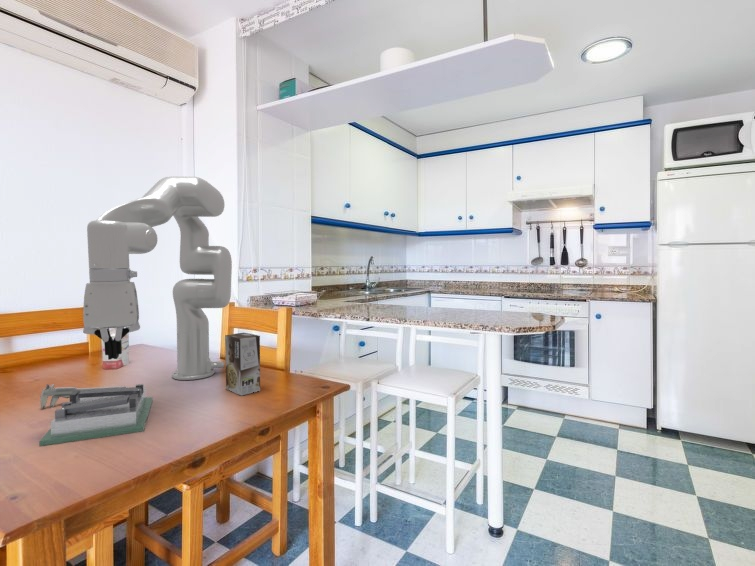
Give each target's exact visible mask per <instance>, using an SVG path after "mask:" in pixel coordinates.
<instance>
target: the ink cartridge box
mask: <svg viewBox="0 0 755 566" xmlns="http://www.w3.org/2000/svg"><path fill="white" fill-rule="evenodd" d="M109 330H110V335H111V337H112V339H113V340H114V338H115V334H116V328H111V329H109ZM121 344H122V354H119V357H118V358H117V359H110V360H108V355H105V342H103V341H102V369H103V370H117V369H120V368H121V367H122V368H123V367H124V366H126V365H129V364H130V332H129V333H127V334H126V335H125V336H124V337H123V338H122V339H121Z"/></svg>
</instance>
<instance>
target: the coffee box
mask: <svg viewBox="0 0 755 566" xmlns="http://www.w3.org/2000/svg"><path fill="white" fill-rule="evenodd" d="M260 339H261V335H257V334H253V333H248V332H238V333H233V334H226V335H224V350H225V351H224V353H225V354H224V355H225V357H224V358H225V390H226V389H227V391H229V390H230V391H229V392H231V391H232V392H231V393H234V394H236V395H239V396H241V397H242V396H245V395H249V394H254V393H258V392H257V391H259V392H261V340H260ZM253 392H254V393H253Z"/></svg>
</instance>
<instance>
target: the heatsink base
mask: <svg viewBox="0 0 755 566" xmlns="http://www.w3.org/2000/svg"><path fill="white" fill-rule="evenodd" d="M135 387H142V390H141V389H139V390H133V395H120V396H104V397H88V398H78V394H79V393H80V390H75V391H73V392H72V393H71V394H70V398H69V401H66V402H62V403H61V408H62V407H63V406H64V405H72V404H78V403H85V402H91V401H98V400H104V399H110V398H117V397H123V396H129V402H128V404H124V405H118V406H111V407H105V408H99V409H93V410H87V411H81V412H75V413H68V414H66V409H61V408H60V409H59V408H58V409H56V410H55V411H54V418H53V419H52V420H51V421H50V428H49V430H48V431H47V432H46V433H45V434H44V435H43V437H41V439H40V440H39V441H38V442H39V447H42V446H49V445H51V446H52V445H58V444H63V443H70V442H79V441H84V440H91V439H92V440H93V439H97V438H105V437H112V436H113V437H114V436H119V435H125V434H133V433H139V432H140V433H141V432H144V430H145V427H146V425H147V421H148V417H149V413H150V411H151V407H152V405H153V399H154V398H153V397H154V396H147V397H146V387H144V383H139V384H135Z"/></svg>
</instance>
